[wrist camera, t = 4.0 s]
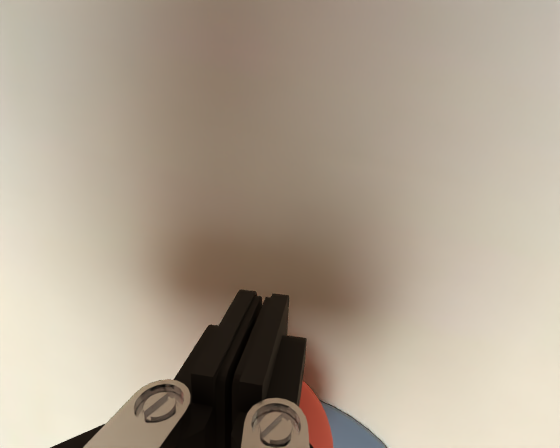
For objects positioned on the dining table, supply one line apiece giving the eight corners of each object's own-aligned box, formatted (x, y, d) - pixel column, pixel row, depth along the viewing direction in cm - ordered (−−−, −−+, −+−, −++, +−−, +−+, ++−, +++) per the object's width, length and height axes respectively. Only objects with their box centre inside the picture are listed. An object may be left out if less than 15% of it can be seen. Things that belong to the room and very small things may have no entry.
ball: (165, 365, 10) (121, 583, 9) (347, 398, 9) (327, 641, 8) (218, 344, 15) (195, 478, 14) (336, 364, 15) (323, 507, 13)
